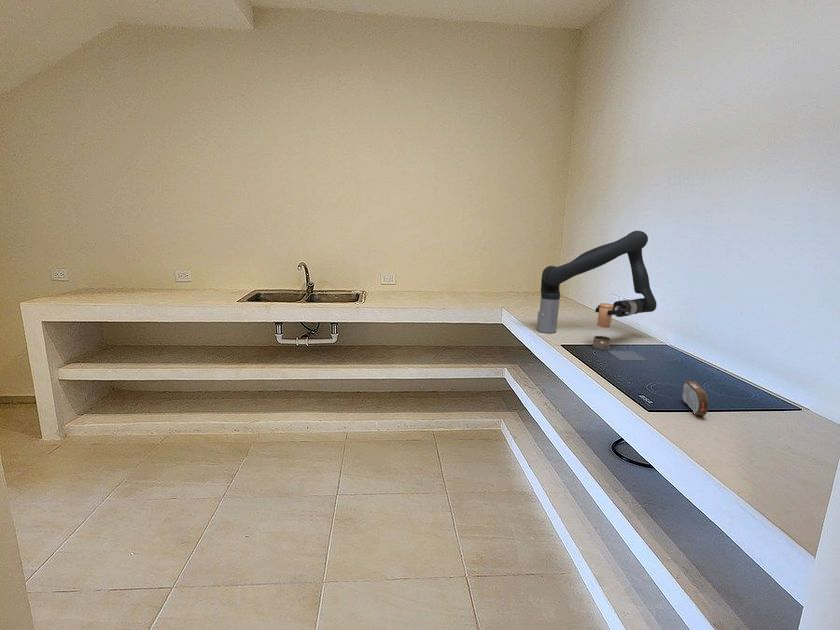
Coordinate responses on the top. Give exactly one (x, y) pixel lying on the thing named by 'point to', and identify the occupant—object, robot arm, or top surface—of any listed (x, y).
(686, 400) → the tin
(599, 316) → the tan cylinder
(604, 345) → the canister
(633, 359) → the mat
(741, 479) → the top surface
